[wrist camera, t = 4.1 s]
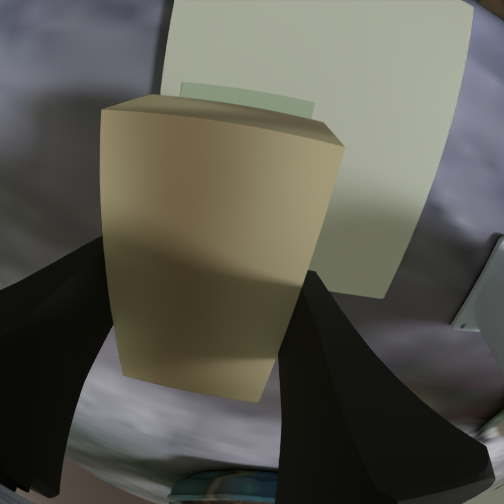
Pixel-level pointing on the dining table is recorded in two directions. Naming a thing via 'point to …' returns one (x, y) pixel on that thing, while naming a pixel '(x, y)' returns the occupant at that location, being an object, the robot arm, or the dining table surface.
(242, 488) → the bonsai tree
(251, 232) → the birch slab
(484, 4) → the walnut cube
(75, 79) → the dining table surface
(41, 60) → the dining table surface
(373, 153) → the board
